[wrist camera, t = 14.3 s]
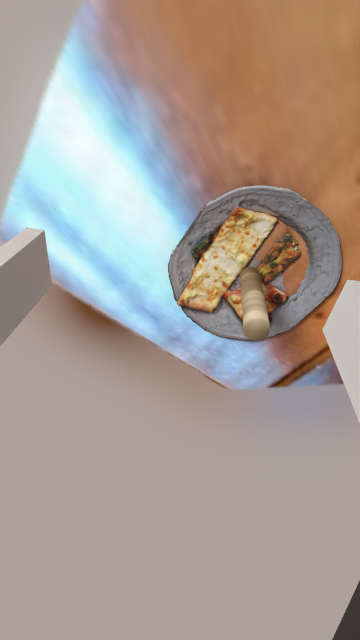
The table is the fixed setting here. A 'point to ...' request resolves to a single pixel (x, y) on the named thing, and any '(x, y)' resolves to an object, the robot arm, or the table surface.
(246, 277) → the pestle
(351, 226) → the table surface
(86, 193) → the table surface
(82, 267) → the table surface
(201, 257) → the food plate
